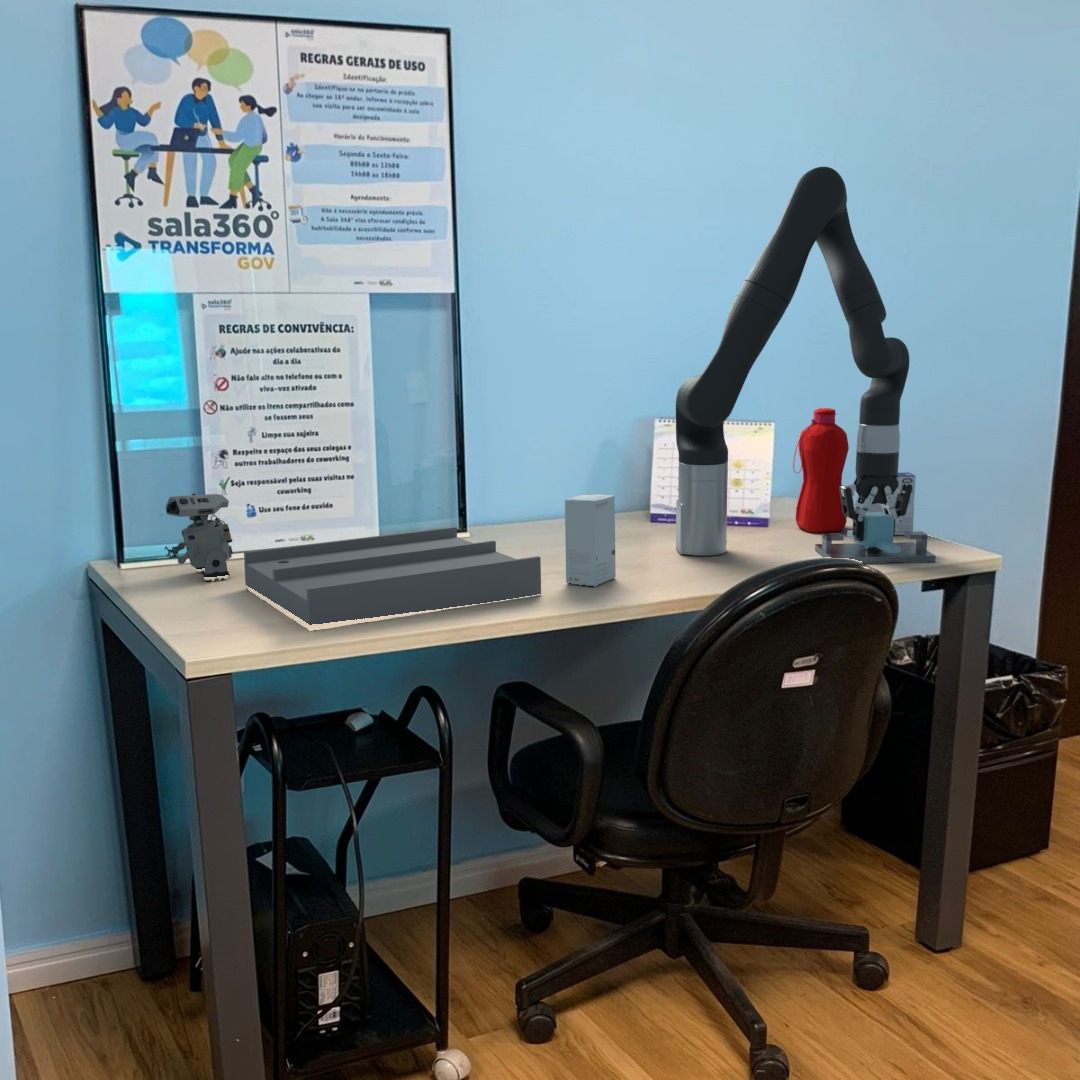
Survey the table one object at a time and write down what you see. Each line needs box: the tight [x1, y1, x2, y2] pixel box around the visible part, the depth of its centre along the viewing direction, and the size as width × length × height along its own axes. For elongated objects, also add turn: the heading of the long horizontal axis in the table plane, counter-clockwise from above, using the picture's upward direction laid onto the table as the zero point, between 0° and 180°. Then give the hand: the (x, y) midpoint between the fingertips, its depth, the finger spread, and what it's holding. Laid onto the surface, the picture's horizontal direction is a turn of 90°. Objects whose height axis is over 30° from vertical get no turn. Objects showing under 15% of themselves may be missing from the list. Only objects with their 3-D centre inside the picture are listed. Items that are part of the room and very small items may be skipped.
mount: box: [814, 530, 937, 564], centre depth 229 cm, size 19×12×6 cm, turn 92°
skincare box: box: [564, 493, 616, 588], centre depth 211 cm, size 8×6×15 cm
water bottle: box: [792, 407, 850, 534], centre depth 252 cm, size 9×11×25 cm
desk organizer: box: [243, 526, 542, 625], centre depth 206 cm, size 32×40×7 cm
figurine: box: [164, 492, 234, 577], centre depth 218 cm, size 9×12×15 cm
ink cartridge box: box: [863, 471, 917, 536], centre depth 249 cm, size 10×6×14 cm, turn 89°
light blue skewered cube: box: [846, 512, 901, 553], centre depth 228 cm, size 16×5×5 cm, turn 14°
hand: (873, 539), depth 228 cm, fingers closed on light blue skewered cube, 5 cm apart
